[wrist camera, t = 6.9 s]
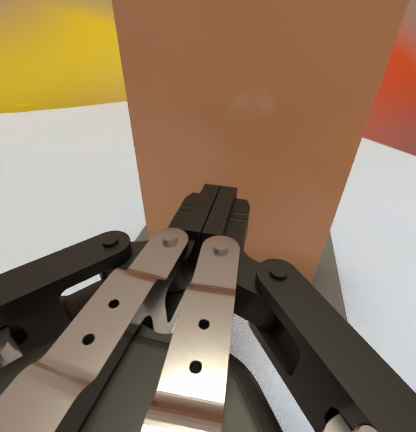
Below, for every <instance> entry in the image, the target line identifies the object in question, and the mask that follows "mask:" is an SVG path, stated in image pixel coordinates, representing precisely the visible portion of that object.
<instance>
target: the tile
mask: <svg viewBox="0 0 416 432" xmlns="http://www.w3.org/2000/svg"><path fill="white" fill-rule="evenodd" d="M408 2H409V0H112V5H113V11H114V18H115V24H116V30H117V36H118V43H119V50H120V57H121V63H122V70H123V76H124V82H125V89H126V96H127V102H128V109H129V115H130V121H131V128H132V134H133V141H134V147H135V154H136V160H137V167H138V173H139V180H140V186H141V193H142V199H143V206H144V212H145V219H146V225H147V232H148V238H149V240H150V239H151V237H152V236H153V235H154V234H155V233H156V232H157V231H159V230H161V229H165V228H168V226H169V224H170V223H171V221H172V219H173V217H174V216H175V214H176V212H177V211H178V209H179V207H180V206H181V204H182V202H183V200H184V199H185V197H187V196H188V195H190V194H191V193H200V192H201V190H202V188H203V186H204V184H213V185H221V186H229V187H237V198H238V199H245V200H247V201H248V203H249V205H250V212H249V221H248V229H247V235H246V240H245V245H244V251H245V253H246V254H247V255H248V256H249V257H250V258H252V259H254V260H256V261H258V262H260V263H261V262H262V261H264V260H267V259H281V260H284V261H287V262H289V263H290V264H292V265H293V266H294V267H295V268H296V269H297V270H298V271H299V272H300V273H301V274H302V275H303V276H304V277H305V278H306V279H307V280H308V281H309V282H310V283H312V280H313V277H314V274H315V272H316V269H317V266H318V263H319V260H320V257H321V254H322V251H323V248H324V245H325V243H326V240H327V237H328V234H329V231H330V228H331V225H332V222H333V219H334V217H335V214H336V211H337V208H338V205H339V202H340V199H341V196H342V193H343V191H344V188H345V185H346V182H347V179H348V176H349V173H350V170H351V167H352V164H353V162H354V159H355V156H356V153H357V150H358V147H359V144H360V141H361V138H362V136H363V132H364V129H365V127H366V124H367V121H368V118H369V115H370V112H371V109H372V106H373V103H374V101H375V98H376V95H377V92H378V89H379V86H380V83H381V81H382V77H383V74H384V72H385V69H386V66H387V63H388V60H389V57H390V55H391V52H392V49H393V46H394V43H395V40H396V37H397V34H398V31H399V28H400V26H401V22H402V20H403V17H404V14H405V11H406V8H407V5H408Z"/></svg>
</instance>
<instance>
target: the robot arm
mask: <svg viewBox="0 0 416 432" xmlns="http://www.w3.org/2000/svg"><path fill="white" fill-rule="evenodd" d="M249 212H250V205H249V203H248V201H247V200H245V199H238V198H237V187H229V186H221V185H213V184H204V186H203V188H202V190H201V192H200V193H191V194H190V195H188V196H187V197H185V199H184V200H183V202H182V204H181V206H180V207H179V209H178V211H177V212H176V214H175V216H174V217H173V219H172V221H171V223H170V224H169V226H168V228H165V229H161V230H159V231H157V232H156V233H155V234H154V235H153V236H152V237H151V239H150V240H148V241H136V242H130V238H129V236H128V235H127V234H126V233H124V232H122V231H109V232H105V233H102V234H100V235H97V236H95V237H92V238H90V239H87V240H85V241H82V242H80V243H77V244H75V245H72V246H70V247H67V248H65V249H62V250H60V251H57V252H55V253H52V254H50V255H47V256H45V257H42V258H40V259H37V260H35V261H32V262H30V263H27V264H25V265H22V266H19V267H17V268H14V269H12V270H9V271H7V272H4V273H2V274H0V432H283V431H282V429H281V427H280V425H279V423H278V421H277V419H276V417H275V415H274V413H273V411H272V409H271V407H270V405H269V403H268V401H267V400H266V398H265V396H264V394H263V392H262V390H261V388H260V386H259V384H258V382H257V381H256V379H255V378H254V376H253V375H252V373H251V372H250V371H249V370H248V368H247V367H246V366H245V365H244V364H243V363H242V362H241V361H240V360H238V359H237V358H236V357H234V356H233V355H232V354H230V353H229V351H230V341H231V331H232V322H233V313H235V314H237V315H238V316H240V317H242V318H244V319H245V320H247V321H249V326H250V328H251V330H252V332H253V333H254V335H255V337H256V338H257V340H258V341H259V343H260V345H261V346H262V348H263V349H264V351H265V352H266V354H267V356H268V357H269V359H270V360H271V362H272V364H273V365H274V367H275V368H276V370H277V372H278V373H279V375H280V376H281V378H282V380H283V381H284V383H285V384H286V386H287V388H288V389H289V391H290V392H291V394H292V396H293V397H294V399H295V400H296V402H297V404H298V405H299V407H300V408H301V410H302V411H303V413H304V415H305V416H306V418H307V419H308V421H309V423H310V424H311V426H312V427H313V429H314V431H315V432H416V393H415V392H414V391H413V390H412V389H411V388H410V387H409V386H408V385H407V384H406V383H405V382H404V381H403V380H402V378H401V377H400V376H399V375H398V374H397V373H396V372H395V371H394V370H393V369H392V368H391V367H390V366H389V365H388V364H387V363H386V362H385V361H384V360H383V359H382V358H381V357H380V355H379V354H378V353H377V352H376V351H375V350H374V349H373V348H372V347H371V346H370V345H369V344H368V343H367V342H366V341H365V340H364V339H363V338H362V337H361V336H360V335H359V334H358V332H357V331H356V330H355V329H354V328H353V327H352V326H351V325H350V324H349V323H348V322H347V321H346V320H345V319H344V318H343V317H342V316H341V315H340V314H339V313H338V312H337V311H336V310H335V308H334V307H333V306H332V305H331V304H330V303H329V302H328V301H327V300H326V299H325V298H324V297H323V296H322V295H321V294H320V293H319V292H318V291H317V290H316V289H315V288H314V287H313V285H312V284H311V283H310V282H309V281H308V280H307V279H306V278H305V277H304V276H303V275H302V274H301V273H300V272H299V271H298V270H297V269H296V268H295V267H294V266H293V265H292V264H290V263H289V262H287V261H284V260H281V259H267V260H264V261H262V262H261V263H260V262H258V261H256V260H254V259H252V258H250V257H249V256H248V255H247V254H246V253H245V251H244V245H245V240H246V235H247V229H248V221H249ZM97 274H100V277H101V280H100V281H98V282H96V283H94V284H91V285H89V286H87V287H85V288H83V289H81V290H79V291H77V292H75V293H73V294H71V295H68V296H61V294H62V292H63V291H65V290H66V289H68V288H70V287H72V286H74V285H76V284H78V283H80V282H83V281H85V280H87V279H89V278H91V277H93V276H95V275H97ZM193 275H194V276H193ZM192 278H193V280H192ZM191 280H192V283H191ZM190 283H191V285H190ZM177 317H178V318H177ZM176 319H177V321H176ZM175 321H176V325H175V328H174V332H173V334H171V330H172V328H173V325H174V323H175Z"/></svg>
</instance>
